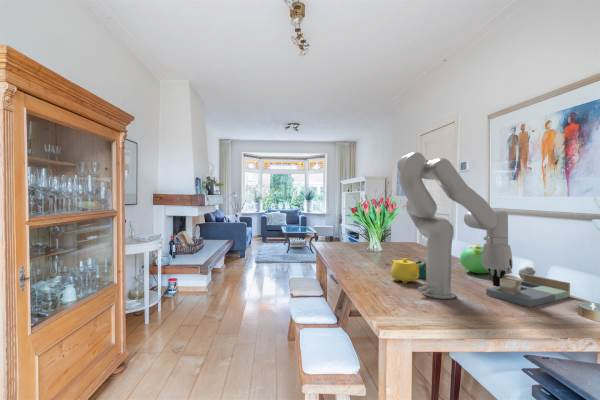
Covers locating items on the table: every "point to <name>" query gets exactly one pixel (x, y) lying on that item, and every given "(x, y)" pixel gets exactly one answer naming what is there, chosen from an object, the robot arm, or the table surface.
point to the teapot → (405, 270)
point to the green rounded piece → (473, 259)
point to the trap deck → (534, 291)
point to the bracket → (421, 269)
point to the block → (510, 285)
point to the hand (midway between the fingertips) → (497, 285)
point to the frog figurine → (526, 272)
